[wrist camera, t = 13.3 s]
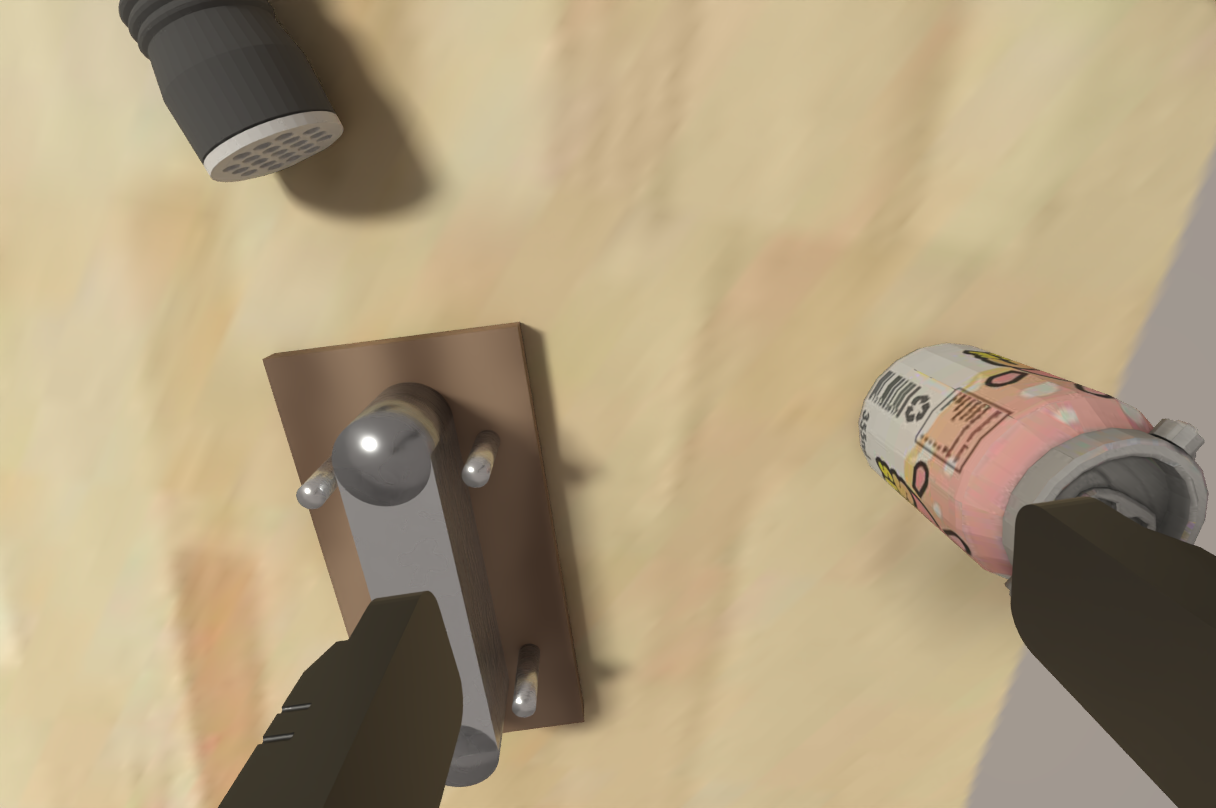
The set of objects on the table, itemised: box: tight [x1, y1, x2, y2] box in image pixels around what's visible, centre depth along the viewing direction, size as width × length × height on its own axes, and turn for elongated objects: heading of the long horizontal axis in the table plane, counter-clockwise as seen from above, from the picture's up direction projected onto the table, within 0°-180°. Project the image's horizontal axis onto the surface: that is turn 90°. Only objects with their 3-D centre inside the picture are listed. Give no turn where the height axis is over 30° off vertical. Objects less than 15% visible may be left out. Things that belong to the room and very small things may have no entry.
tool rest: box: [262, 322, 584, 733], centre depth 31 cm, size 12×24×5 cm, turn 7°
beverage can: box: [858, 343, 1208, 596], centre depth 27 cm, size 9×8×12 cm
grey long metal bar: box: [332, 382, 509, 787], centre depth 30 cm, size 4×20×5 cm, turn 7°
